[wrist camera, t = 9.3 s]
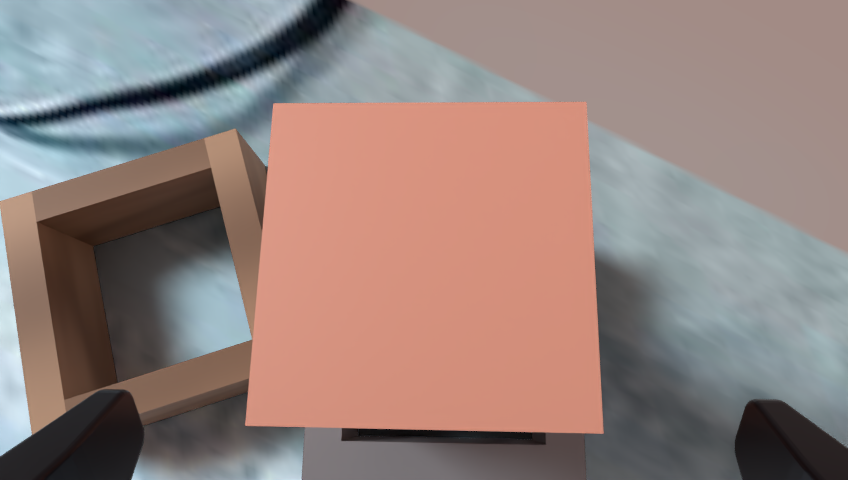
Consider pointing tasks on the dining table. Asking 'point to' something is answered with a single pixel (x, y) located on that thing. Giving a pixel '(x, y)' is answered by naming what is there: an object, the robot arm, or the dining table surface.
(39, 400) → the walnut socket
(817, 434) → the robot arm
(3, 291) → the dining table surface
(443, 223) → the peg
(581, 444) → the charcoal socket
